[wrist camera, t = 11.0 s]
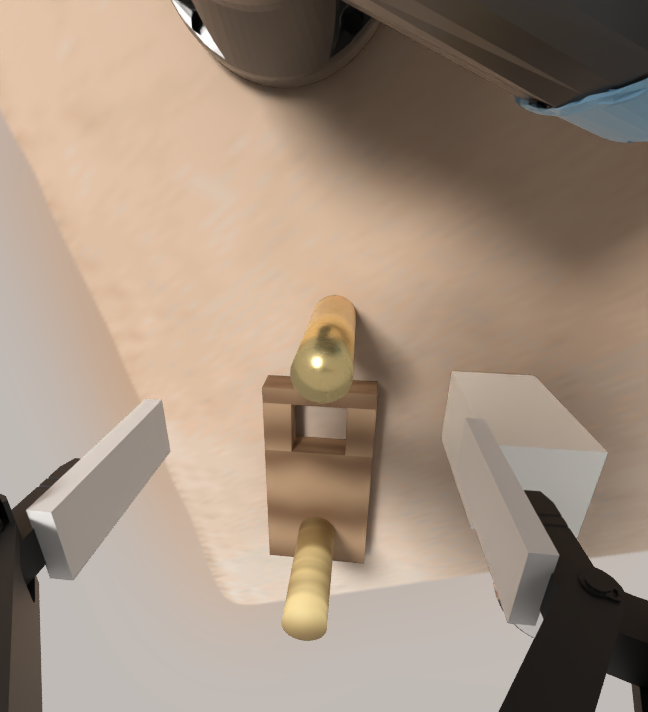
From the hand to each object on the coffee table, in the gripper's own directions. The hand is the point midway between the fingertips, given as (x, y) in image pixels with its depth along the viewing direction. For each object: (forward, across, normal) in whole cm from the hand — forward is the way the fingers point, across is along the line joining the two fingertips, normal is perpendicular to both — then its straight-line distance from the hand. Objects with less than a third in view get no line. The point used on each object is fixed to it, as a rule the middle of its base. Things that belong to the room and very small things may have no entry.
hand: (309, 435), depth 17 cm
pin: (+18, 0, 0) cm, 18 cm away
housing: (+18, +14, -8) cm, 24 cm away
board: (+18, -1, -16) cm, 24 cm away
